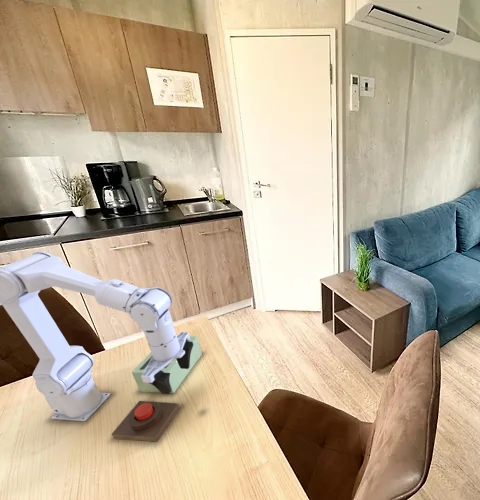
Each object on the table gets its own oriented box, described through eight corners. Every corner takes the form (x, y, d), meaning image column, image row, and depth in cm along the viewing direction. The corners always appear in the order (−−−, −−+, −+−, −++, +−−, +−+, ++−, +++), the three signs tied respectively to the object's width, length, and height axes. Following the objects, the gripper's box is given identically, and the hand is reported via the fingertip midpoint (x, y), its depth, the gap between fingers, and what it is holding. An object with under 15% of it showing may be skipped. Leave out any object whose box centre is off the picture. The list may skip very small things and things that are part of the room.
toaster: (135, 396, 79) (126, 376, 76) (173, 352, 94) (167, 334, 91) (169, 398, 79) (162, 378, 75) (202, 354, 94) (197, 336, 91)
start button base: (113, 438, 69) (108, 429, 67) (141, 405, 77) (137, 395, 75) (157, 441, 68) (153, 432, 66) (180, 407, 76) (177, 398, 75)
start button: (132, 420, 70) (130, 415, 69) (143, 407, 73) (141, 402, 72) (146, 421, 69) (144, 416, 69) (156, 408, 73) (155, 403, 72)
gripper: (157, 362, 60) (172, 406, 65) (196, 319, 73) (206, 359, 79) (125, 360, 60) (143, 404, 66) (169, 317, 73) (182, 357, 79)
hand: (176, 379), depth 72 cm, fingers open, 7 cm apart
